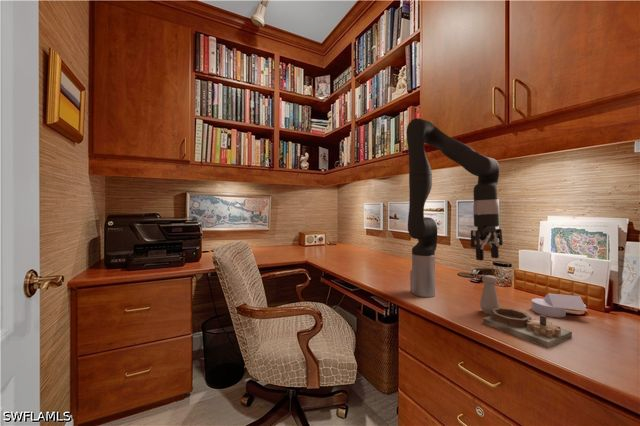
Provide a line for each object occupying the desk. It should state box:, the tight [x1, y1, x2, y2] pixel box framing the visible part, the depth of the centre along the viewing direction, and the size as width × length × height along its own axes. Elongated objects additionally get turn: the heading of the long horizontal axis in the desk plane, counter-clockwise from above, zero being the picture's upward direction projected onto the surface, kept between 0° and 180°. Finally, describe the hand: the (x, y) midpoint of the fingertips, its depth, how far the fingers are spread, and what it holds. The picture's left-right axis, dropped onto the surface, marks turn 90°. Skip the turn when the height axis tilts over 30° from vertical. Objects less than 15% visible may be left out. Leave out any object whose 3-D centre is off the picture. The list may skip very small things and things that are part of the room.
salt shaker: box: [479, 274, 501, 316], centre depth 90 cm, size 6×6×13 cm
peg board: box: [482, 307, 573, 349], centre depth 77 cm, size 17×13×6 cm
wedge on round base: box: [531, 292, 588, 318], centre depth 90 cm, size 9×7×13 cm
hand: (487, 259), depth 91 cm, fingers open, 8 cm apart
